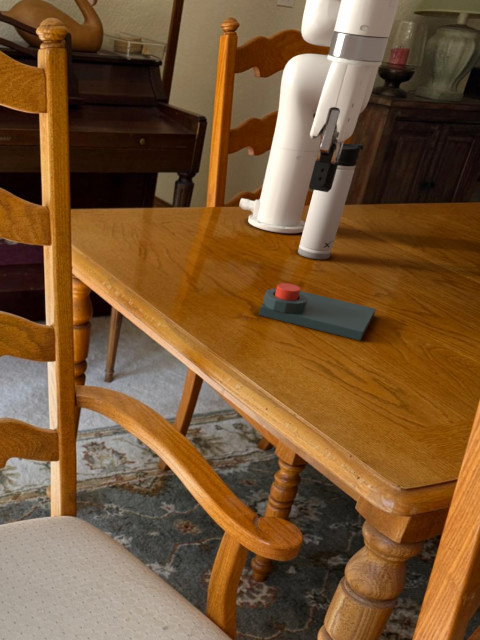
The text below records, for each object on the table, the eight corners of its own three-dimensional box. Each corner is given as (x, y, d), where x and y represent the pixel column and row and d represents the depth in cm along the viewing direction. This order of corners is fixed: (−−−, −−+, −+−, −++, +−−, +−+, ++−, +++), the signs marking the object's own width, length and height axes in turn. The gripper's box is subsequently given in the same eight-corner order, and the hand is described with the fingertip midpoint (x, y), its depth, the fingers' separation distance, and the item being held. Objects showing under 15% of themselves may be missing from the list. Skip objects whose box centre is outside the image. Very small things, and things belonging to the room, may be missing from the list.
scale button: (271, 298, 113) (274, 287, 112) (277, 292, 116) (280, 281, 115) (294, 304, 112) (297, 292, 111) (299, 297, 115) (302, 286, 114)
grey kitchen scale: (256, 315, 114) (261, 296, 113) (276, 293, 123) (281, 276, 121) (359, 341, 109) (366, 322, 107) (373, 317, 118) (379, 299, 116)
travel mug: (332, 262, 141) (365, 147, 128) (298, 257, 141) (328, 143, 129) (329, 253, 146) (361, 142, 133) (296, 248, 146) (325, 137, 134)
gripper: (341, 43, 108) (307, 176, 120) (318, 49, 98) (283, 194, 109) (392, 50, 106) (352, 185, 118) (374, 57, 95) (333, 204, 107)
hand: (319, 189), depth 113 cm, fingers closed
